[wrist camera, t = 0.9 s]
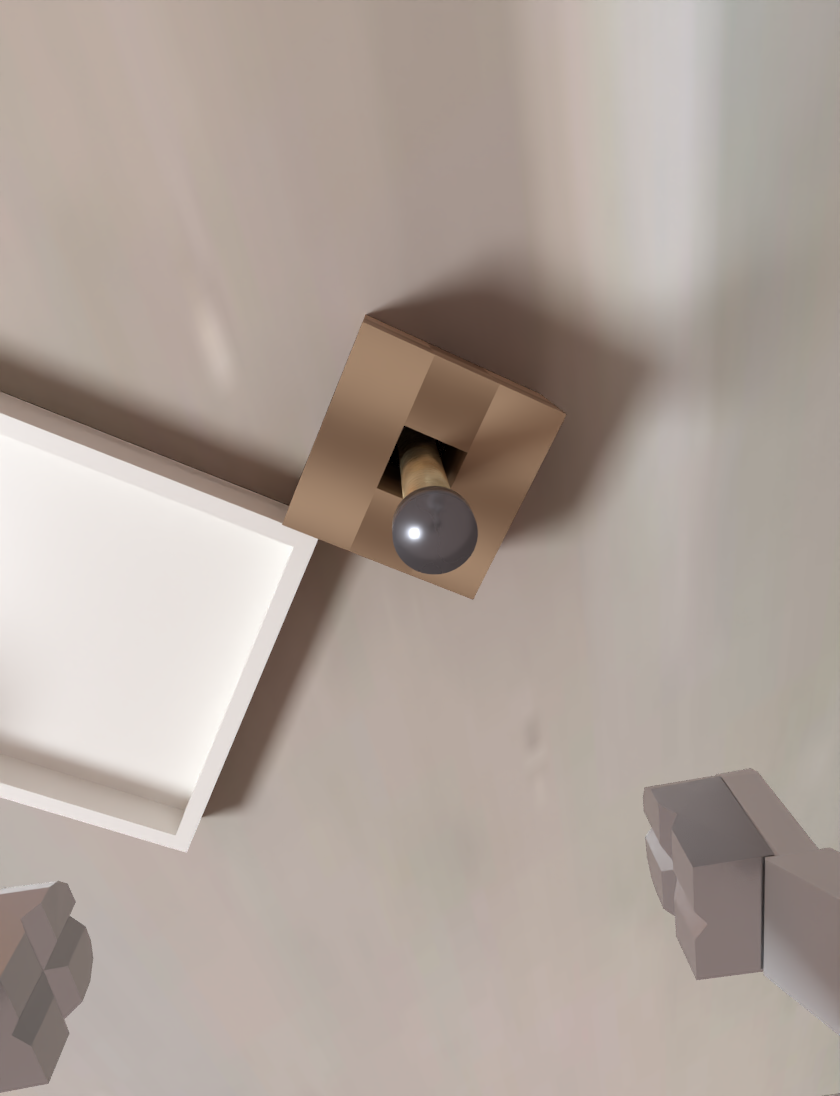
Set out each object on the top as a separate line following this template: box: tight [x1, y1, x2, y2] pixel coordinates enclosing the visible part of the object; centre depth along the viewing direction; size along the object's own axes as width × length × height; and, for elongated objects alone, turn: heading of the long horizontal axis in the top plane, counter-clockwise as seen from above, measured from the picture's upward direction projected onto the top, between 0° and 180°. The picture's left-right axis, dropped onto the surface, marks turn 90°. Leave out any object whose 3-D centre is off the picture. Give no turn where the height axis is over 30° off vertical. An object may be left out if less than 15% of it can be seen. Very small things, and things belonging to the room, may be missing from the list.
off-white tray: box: [0, 392, 318, 853], centre depth 41 cm, size 22×22×3 cm
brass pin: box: [392, 427, 478, 575], centre depth 33 cm, size 3×3×15 cm
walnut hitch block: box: [282, 315, 567, 599], centre depth 37 cm, size 10×10×6 cm
